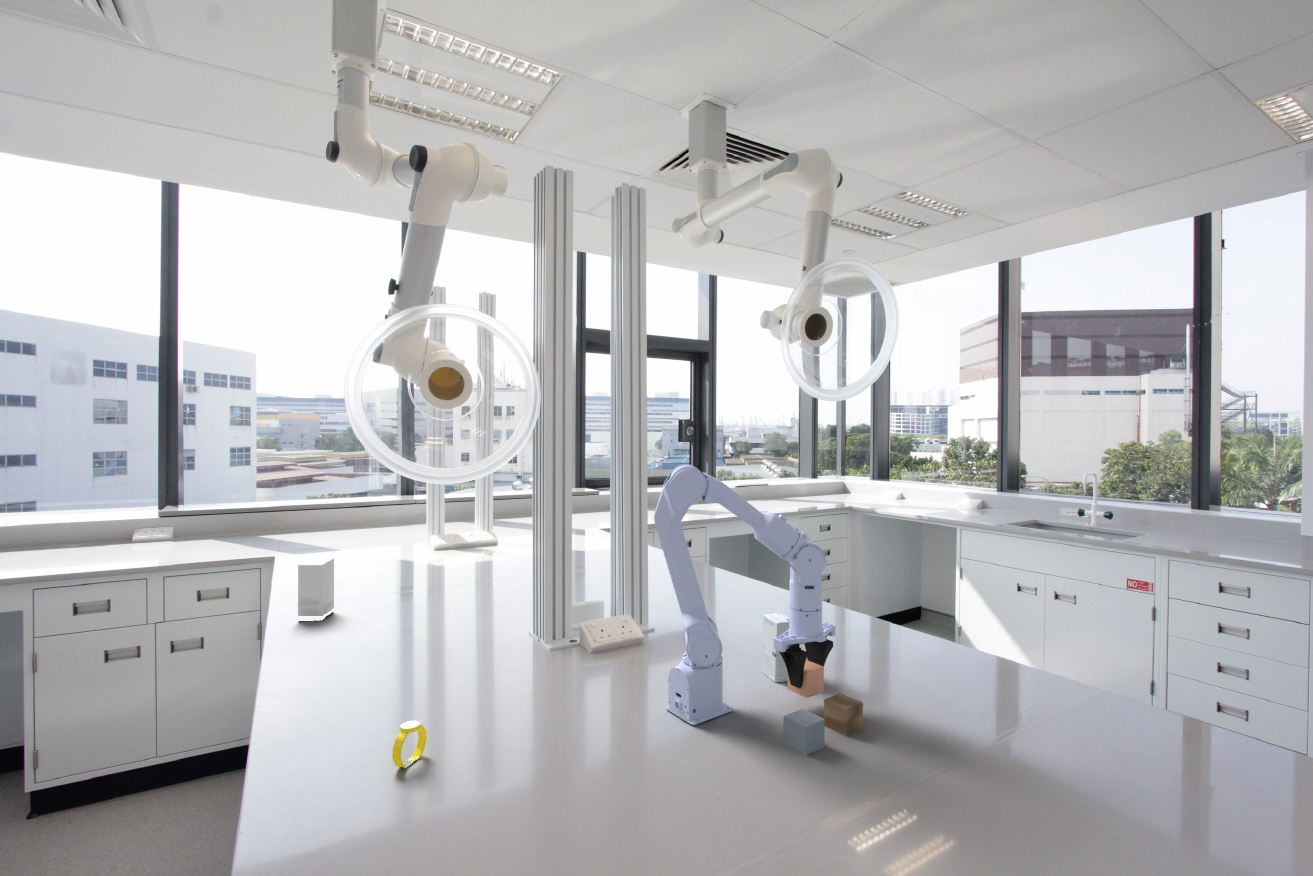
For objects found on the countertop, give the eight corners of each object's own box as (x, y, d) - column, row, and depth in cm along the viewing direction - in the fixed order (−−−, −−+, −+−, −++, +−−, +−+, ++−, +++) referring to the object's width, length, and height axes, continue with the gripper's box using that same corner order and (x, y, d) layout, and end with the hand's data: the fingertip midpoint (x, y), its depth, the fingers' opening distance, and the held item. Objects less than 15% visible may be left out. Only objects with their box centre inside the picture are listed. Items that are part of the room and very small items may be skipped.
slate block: (805, 756, 92) (805, 727, 92) (783, 744, 96) (783, 716, 96) (824, 747, 95) (824, 719, 95) (802, 735, 99) (802, 708, 99)
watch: (415, 754, 94) (416, 715, 94) (430, 756, 93) (431, 717, 93) (387, 772, 88) (389, 730, 89) (403, 775, 87) (404, 733, 88)
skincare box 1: (311, 613, 167) (311, 557, 167) (336, 612, 168) (335, 556, 168) (296, 622, 159) (296, 564, 159) (323, 621, 159) (322, 563, 159)
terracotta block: (807, 698, 105) (807, 672, 105) (787, 689, 108) (787, 664, 108) (823, 691, 107) (823, 666, 107) (804, 683, 111) (804, 659, 111)
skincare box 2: (761, 672, 125) (761, 614, 125) (780, 669, 126) (780, 612, 126) (775, 683, 119) (775, 622, 119) (795, 680, 120) (795, 620, 120)
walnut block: (846, 736, 98) (846, 709, 98) (823, 726, 102) (823, 699, 102) (862, 728, 101) (862, 702, 101) (840, 718, 104) (840, 692, 104)
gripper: (795, 620, 100) (795, 701, 100) (849, 605, 109) (849, 680, 109) (764, 610, 106) (764, 686, 106) (818, 596, 114) (818, 667, 115)
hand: (805, 682), depth 108 cm, fingers closed on terracotta block, 4 cm apart
